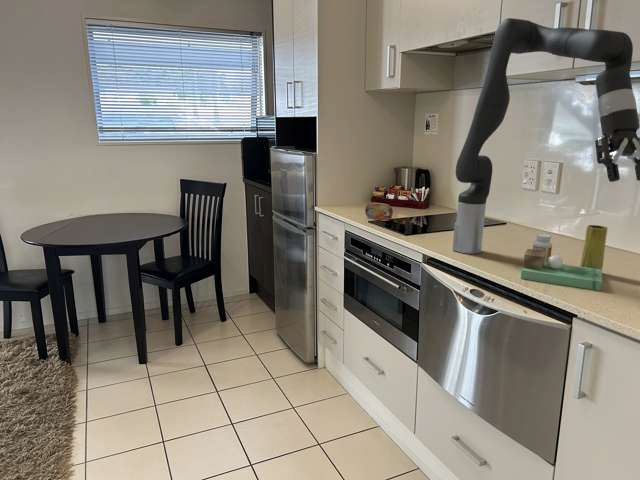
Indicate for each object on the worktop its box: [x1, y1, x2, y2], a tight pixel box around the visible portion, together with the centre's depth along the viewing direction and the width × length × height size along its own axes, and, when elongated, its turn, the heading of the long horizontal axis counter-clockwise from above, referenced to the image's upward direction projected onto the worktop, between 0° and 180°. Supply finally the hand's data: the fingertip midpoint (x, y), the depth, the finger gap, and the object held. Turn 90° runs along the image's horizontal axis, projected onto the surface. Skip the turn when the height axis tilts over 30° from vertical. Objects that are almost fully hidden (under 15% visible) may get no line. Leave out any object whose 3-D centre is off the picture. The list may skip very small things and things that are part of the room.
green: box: [520, 262, 603, 291], centre depth 137 cm, size 20×14×2 cm
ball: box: [547, 254, 564, 269], centre depth 137 cm, size 4×4×4 cm
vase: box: [580, 224, 608, 273], centre depth 141 cm, size 6×6×14 cm
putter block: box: [522, 248, 546, 270], centre depth 139 cm, size 5×8×4 cm, turn 151°
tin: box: [365, 202, 394, 222], centre depth 220 cm, size 15×3×8 cm, turn 42°
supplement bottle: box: [532, 233, 553, 262], centre depth 149 cm, size 5×5×10 cm
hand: (628, 180), depth 110 cm, fingers open, 8 cm apart
